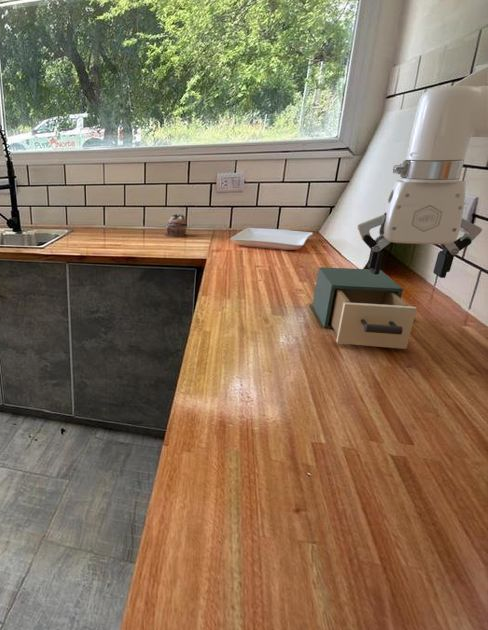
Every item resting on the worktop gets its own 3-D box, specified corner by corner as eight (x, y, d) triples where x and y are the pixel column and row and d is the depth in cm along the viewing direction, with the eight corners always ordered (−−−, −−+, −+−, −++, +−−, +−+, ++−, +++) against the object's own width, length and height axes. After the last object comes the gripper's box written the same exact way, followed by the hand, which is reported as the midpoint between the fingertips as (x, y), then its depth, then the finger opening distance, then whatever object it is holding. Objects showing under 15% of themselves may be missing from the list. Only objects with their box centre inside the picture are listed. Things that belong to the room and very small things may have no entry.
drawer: (415, 359, 87) (426, 317, 83) (342, 352, 90) (350, 312, 87) (383, 322, 104) (392, 286, 100) (323, 318, 107) (330, 283, 104)
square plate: (228, 247, 184) (229, 237, 183) (246, 235, 205) (247, 226, 203) (301, 253, 169) (302, 243, 168) (312, 240, 190) (314, 231, 189)
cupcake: (186, 233, 213) (187, 212, 209) (186, 238, 204) (187, 215, 201) (165, 233, 215) (166, 212, 211) (165, 237, 206) (166, 215, 203)
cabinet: (392, 333, 100) (403, 288, 96) (323, 328, 104) (331, 285, 100) (371, 310, 114) (380, 269, 110) (312, 306, 118) (318, 267, 114)
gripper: (375, 174, 72) (354, 277, 78) (510, 173, 66) (476, 283, 73) (363, 171, 78) (344, 266, 85) (485, 169, 73) (456, 271, 79)
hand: (405, 274), depth 79 cm, fingers open, 9 cm apart
